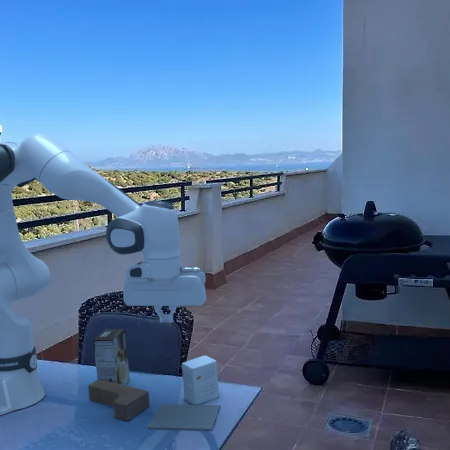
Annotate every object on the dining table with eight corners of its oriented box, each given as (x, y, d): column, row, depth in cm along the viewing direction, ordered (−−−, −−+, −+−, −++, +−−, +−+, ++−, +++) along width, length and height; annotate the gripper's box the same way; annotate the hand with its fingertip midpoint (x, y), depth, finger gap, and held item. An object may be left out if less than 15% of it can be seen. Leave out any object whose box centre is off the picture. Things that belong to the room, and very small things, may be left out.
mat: (147, 429, 131) (147, 427, 131) (160, 405, 143) (160, 403, 143) (212, 430, 129) (212, 428, 129) (220, 406, 141) (220, 405, 141)
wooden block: (125, 405, 135) (75, 391, 144) (127, 421, 135) (76, 407, 145) (148, 390, 142) (99, 378, 152) (150, 406, 143) (100, 393, 152)
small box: (208, 390, 151) (205, 354, 149) (219, 397, 146) (217, 360, 145) (183, 399, 146) (181, 362, 145) (194, 406, 142) (192, 368, 140)
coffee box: (110, 379, 162) (105, 328, 159) (130, 380, 160) (126, 328, 158) (97, 393, 153) (92, 339, 150) (119, 394, 152) (114, 339, 149)
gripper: (207, 264, 132) (210, 318, 134) (127, 265, 136) (131, 317, 138) (202, 270, 126) (205, 327, 128) (119, 270, 129) (123, 326, 132)
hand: (166, 322), depth 133 cm, fingers closed
